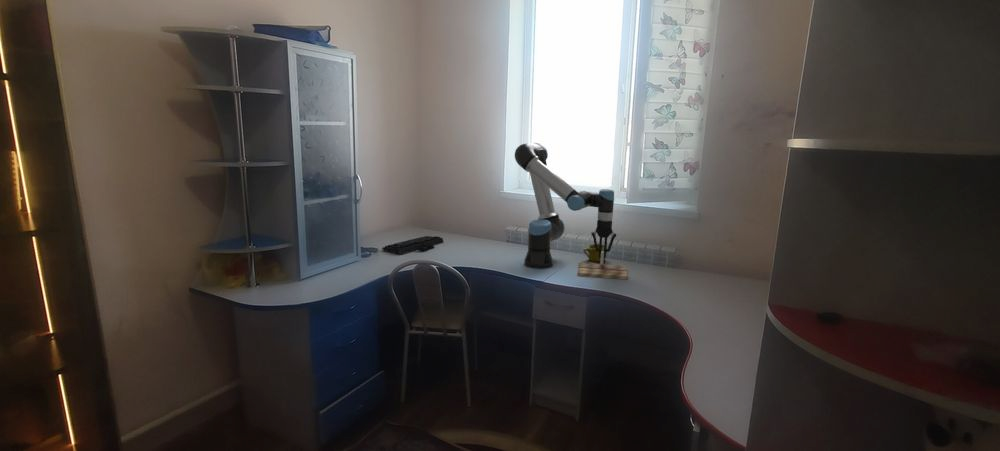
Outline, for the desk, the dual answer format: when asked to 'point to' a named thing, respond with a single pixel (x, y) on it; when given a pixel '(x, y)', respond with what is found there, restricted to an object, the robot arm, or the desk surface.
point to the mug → (593, 253)
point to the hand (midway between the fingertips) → (601, 263)
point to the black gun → (414, 244)
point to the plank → (602, 266)
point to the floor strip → (602, 273)
